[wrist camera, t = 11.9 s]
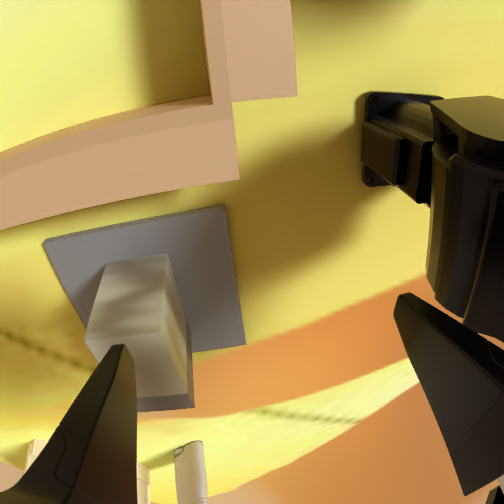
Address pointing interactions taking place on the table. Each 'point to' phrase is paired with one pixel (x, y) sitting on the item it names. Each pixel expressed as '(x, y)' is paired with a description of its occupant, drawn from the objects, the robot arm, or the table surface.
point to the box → (145, 330)
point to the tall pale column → (191, 474)
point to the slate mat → (181, 260)
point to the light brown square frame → (159, 125)
